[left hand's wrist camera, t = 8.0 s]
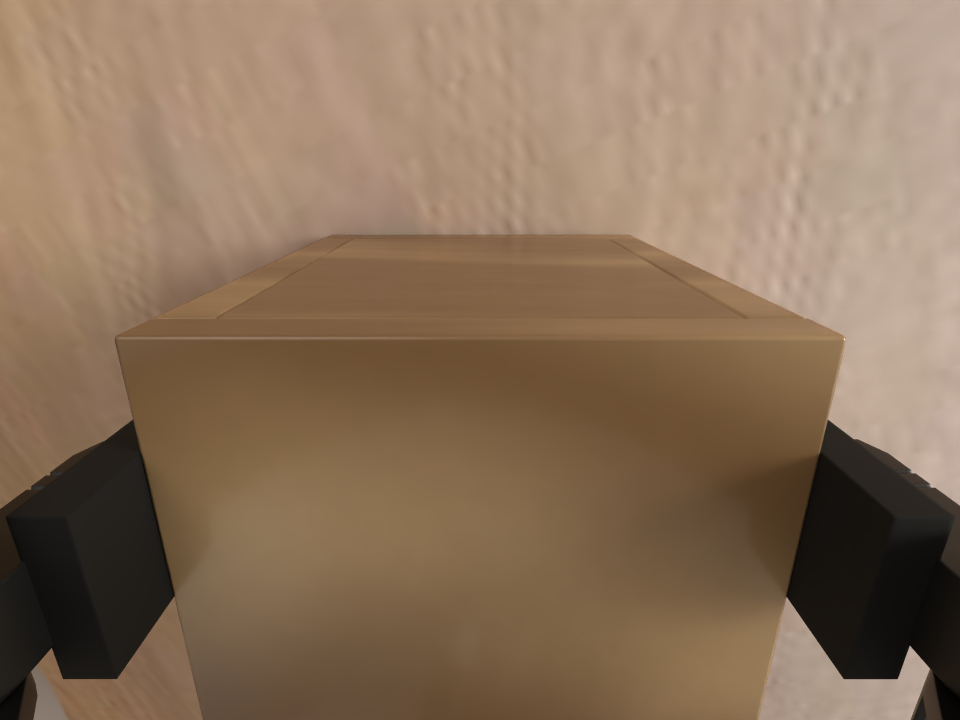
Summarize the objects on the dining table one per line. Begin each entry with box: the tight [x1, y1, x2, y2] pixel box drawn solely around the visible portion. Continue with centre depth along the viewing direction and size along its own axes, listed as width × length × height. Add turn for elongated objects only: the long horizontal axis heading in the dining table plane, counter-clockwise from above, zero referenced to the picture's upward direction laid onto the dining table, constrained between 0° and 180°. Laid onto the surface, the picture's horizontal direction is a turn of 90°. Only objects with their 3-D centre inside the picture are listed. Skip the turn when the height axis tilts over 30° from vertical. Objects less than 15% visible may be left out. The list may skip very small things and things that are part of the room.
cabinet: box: [115, 235, 846, 720], centre depth 16 cm, size 16×10×12 cm, turn 0°
